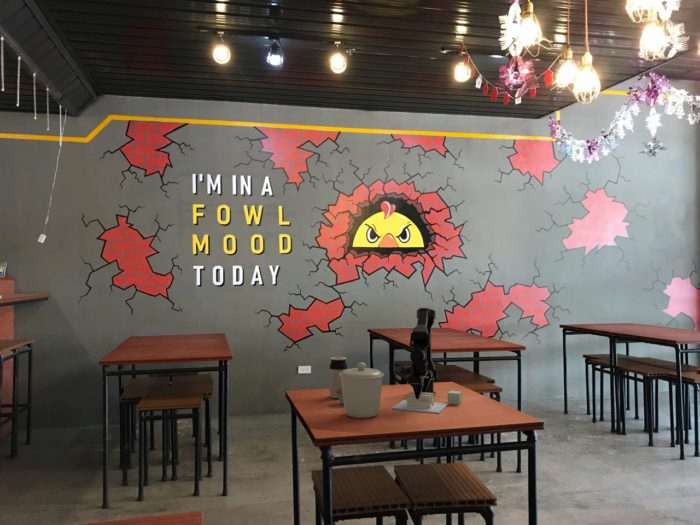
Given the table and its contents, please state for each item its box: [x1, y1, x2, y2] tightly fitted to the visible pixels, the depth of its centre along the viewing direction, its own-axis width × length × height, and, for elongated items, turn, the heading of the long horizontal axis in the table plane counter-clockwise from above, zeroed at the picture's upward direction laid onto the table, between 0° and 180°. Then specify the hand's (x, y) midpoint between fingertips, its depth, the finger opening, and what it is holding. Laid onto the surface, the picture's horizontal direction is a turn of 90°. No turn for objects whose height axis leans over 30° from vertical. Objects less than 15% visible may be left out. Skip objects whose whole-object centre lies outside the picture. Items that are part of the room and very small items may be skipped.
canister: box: [339, 361, 385, 419], centre depth 222 cm, size 18×18×21 cm
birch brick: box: [406, 391, 435, 408], centre depth 235 cm, size 6×10×5 cm, turn 69°
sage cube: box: [447, 390, 463, 406], centre depth 241 cm, size 5×5×5 cm
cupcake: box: [336, 388, 344, 405], centre depth 242 cm, size 9×8×12 cm
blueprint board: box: [391, 399, 449, 414], centre depth 235 cm, size 16×20×1 cm
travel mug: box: [329, 356, 348, 399], centre depth 254 cm, size 8×8×18 cm
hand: (420, 396), depth 235 cm, fingers open, 9 cm apart
